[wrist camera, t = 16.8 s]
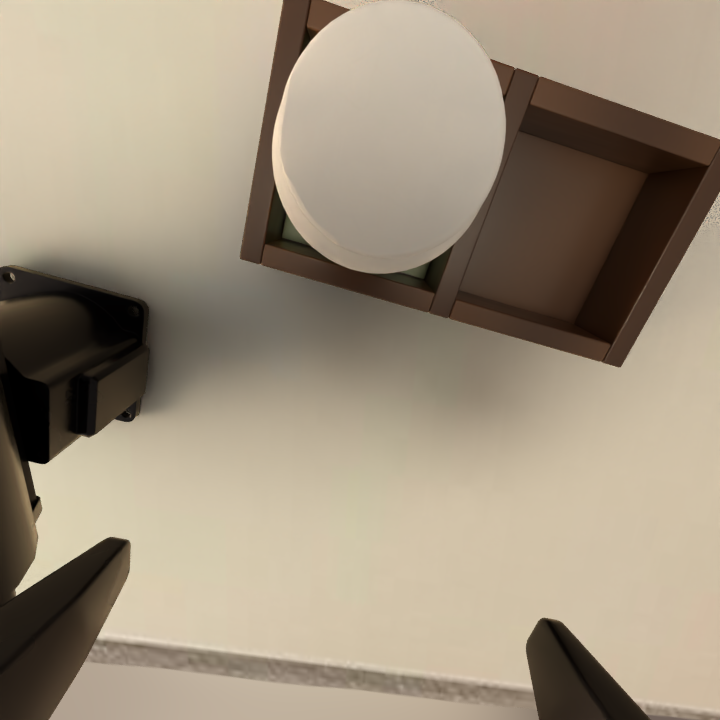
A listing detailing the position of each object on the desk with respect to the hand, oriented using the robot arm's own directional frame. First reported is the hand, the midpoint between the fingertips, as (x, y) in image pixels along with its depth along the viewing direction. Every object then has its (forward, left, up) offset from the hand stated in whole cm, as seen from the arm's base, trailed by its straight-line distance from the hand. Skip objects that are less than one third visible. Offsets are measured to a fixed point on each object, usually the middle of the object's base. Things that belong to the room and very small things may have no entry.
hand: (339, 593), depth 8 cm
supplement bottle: (-1, +9, -12) cm, 14 cm away
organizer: (+2, +9, -12) cm, 15 cm away
